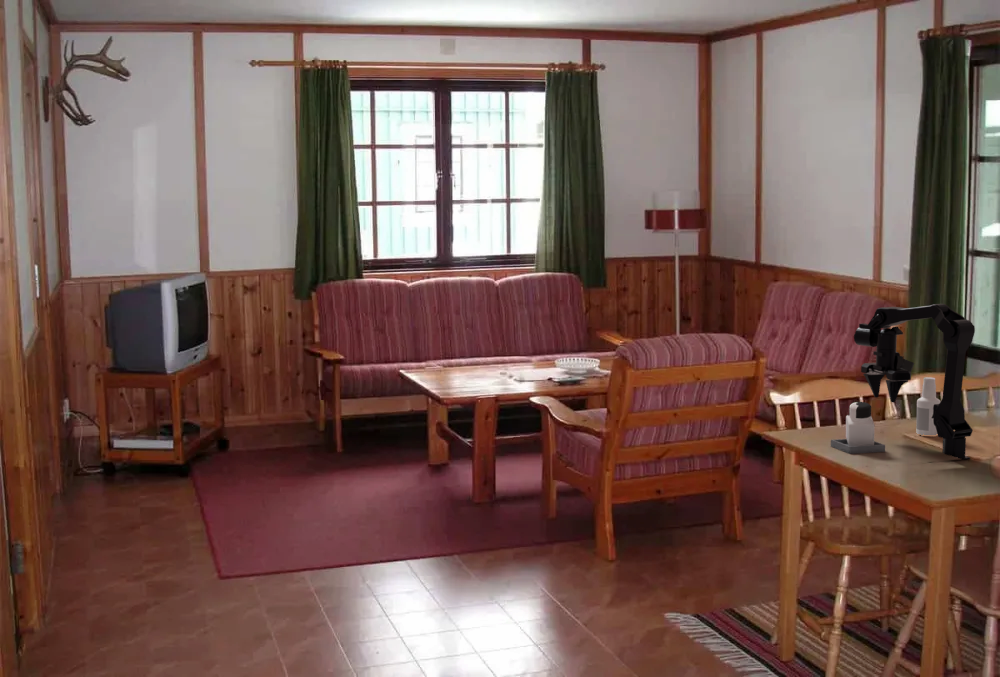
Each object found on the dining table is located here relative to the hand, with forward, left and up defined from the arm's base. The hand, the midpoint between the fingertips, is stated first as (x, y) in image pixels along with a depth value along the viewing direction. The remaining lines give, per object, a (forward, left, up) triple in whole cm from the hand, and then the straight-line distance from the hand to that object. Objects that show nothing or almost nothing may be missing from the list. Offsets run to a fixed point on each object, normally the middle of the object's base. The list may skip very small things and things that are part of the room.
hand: (884, 399), depth 360 cm
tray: (-11, +15, -12) cm, 22 cm away
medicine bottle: (-9, +13, -11) cm, 19 cm away
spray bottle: (+2, -16, -13) cm, 21 cm away
